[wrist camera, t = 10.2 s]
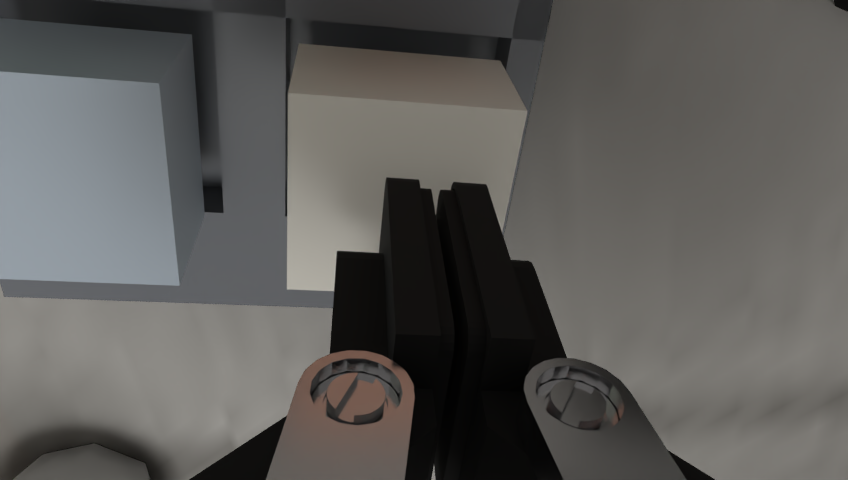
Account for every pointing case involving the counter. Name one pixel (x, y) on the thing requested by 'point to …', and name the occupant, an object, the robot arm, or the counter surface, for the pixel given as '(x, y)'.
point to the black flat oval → (842, 4)
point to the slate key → (97, 154)
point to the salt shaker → (85, 465)
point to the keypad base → (276, 114)
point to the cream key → (387, 143)
